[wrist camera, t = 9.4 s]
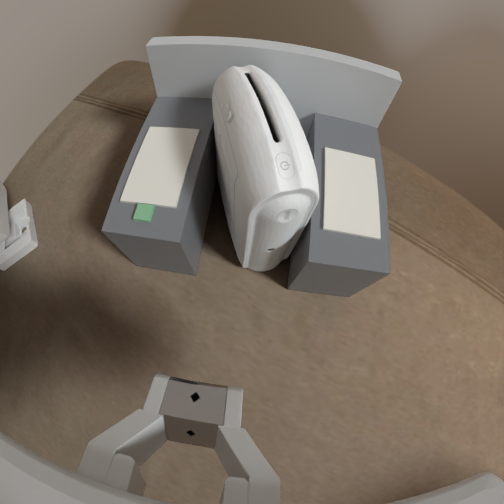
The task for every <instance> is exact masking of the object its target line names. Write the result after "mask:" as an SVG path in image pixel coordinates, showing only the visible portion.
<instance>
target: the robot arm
mask: <svg viewBox="0 0 504 504" xmlns="http://www.w3.org/2000/svg"><path fill="white" fill-rule="evenodd" d="M242 400H243V388H236V387H228V386H224V385H216V384H210V383H203V382H194V381H189V380H185V379H180V378H176V377H171V376H167V375H162V374H158V373H156V375H155V376H154V378H153V381H152V384H151V387H150V389H149V392H148V395H147V398H146V401H145V404H144V406H143V409H142V410H141V409H137V410H136V411H134V412H133V413H132V414H130V415H129V416H127V417H126V418H124V419H123V420H121V421H120V422H118V423H117V424H115V425H114V426H112V427H111V428H109V429H108V430H106V431H105V432H103V433H102V434H100V435H99V436H97V437H95V438H94V439H92V440H91V441H89V443H88V446H87V448H86V450H85V453H84V455H83V458H82V460H81V463H80V466H79V468H78V471H77V473H75V472H73V471H71V470H69V469H66V468H64V467H62V466H60V465H58V464H56V463H54V462H52V461H50V460H48V459H46V458H44V457H42V456H40V455H38V454H37V453H35V452H33V451H31V450H29V449H28V448H26V447H24V446H22V445H21V444H19V443H18V442H16V441H14V440H13V439H11V438H9V437H8V436H6V435H5V434H3V433H2V432H0V504H172V503H168V502H163V501H159V500H155V499H151V498H147V497H143V495H144V491H145V486H146V483H145V481H144V479H143V477H142V475H141V473H140V471H139V469H138V467H139V466H140V465H142V464H143V463H144V462H145V461H146V460H147V459H148V458H149V457H151V456H152V455H153V454H154V453H155V452H156V451H157V450H158V449H159V448H161V447H162V446H163V445H164V444H165V443H166V442H167V440H170V441H175V442H180V443H186V444H192V445H197V446H202V447H208V448H213V449H215V451H216V453H217V455H218V457H219V459H220V461H221V463H222V465H223V466H224V468H225V470H226V472H227V474H228V476H229V478H228V479H226V481H225V484H224V488H223V491H222V495H221V498H220V504H280V478H279V477H278V476H277V474H276V473H275V472H274V470H273V469H272V467H271V466H270V465H269V463H268V462H267V460H266V459H265V458H264V456H263V455H262V453H261V452H260V450H259V449H258V448H257V446H256V445H255V443H254V442H253V440H252V439H251V437H250V436H249V434H248V433H247V431H246V430H245V429H244V428H240V427H241V414H242ZM386 504H504V481H503V480H502V479H500V478H499V477H498V476H496V475H495V474H493V473H491V472H490V471H483V472H480V473H478V474H476V475H473V476H471V477H469V478H466V479H464V480H461V481H459V482H456V483H454V484H451V485H448V486H445V487H443V488H440V489H437V490H434V491H431V492H428V493H424V494H421V495H418V496H414V497H410V498H407V499H403V500H399V501H395V502H390V503H386Z"/></svg>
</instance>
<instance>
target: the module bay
mask: <svg viewBox="0 0 504 504" xmlns="http://www.w3.org/2000/svg"><path fill="white" fill-rule="evenodd" d="M146 49H147V53H148V58H149V63H150V67H151V71H152V76H153V80H154V84H155V88H156V92H157V96H158V97H157V99H156V100H155V102H154V104H153V106H152V108H151V110H150V112H149V114H148V116H147V118H146V120H145V122H144V124H143V126H142V129H141V131H140V133H139V135H138V137H137V139H136V142H135V144H134V146H133V148H132V151H131V153H130V155H129V157H128V160H127V162H126V165H125V167H124V169H123V172H122V174H121V177H120V179H119V182H118V185H117V187H116V190H115V193H114V195H113V198H112V201H111V203H110V206H109V209H108V212H107V215H106V218H105V221H104V224H103V227H102V230H101V231H102V232H103V233H104V234H105V235H106V236H107V237H108V238H109V239H110V240H111V241H112V242H113V243H114V244H115V245H116V246H117V247H118V248H119V249H120V250H121V251H122V252H123V253H124V254H125V255H126V256H127V257H128V258H129V259H130V260H131V261H132V262H133V263H134V264H135V265H136V266H142V267H147V268H153V269H159V270H165V271H170V272H176V273H182V274H188V275H195V276H196V274H197V269H198V264H199V259H200V254H201V249H202V244H203V239H204V235H205V230H206V225H207V221H208V216H209V212H210V207H211V203H212V198H213V194H214V190H215V185H216V181H217V177H218V175H217V160H216V145H215V132H214V119H213V108H212V93H213V88H214V84H215V82H216V80H217V78H218V77H219V76H220V75H221V74H222V73H223V72H224V71H225V70H227V69H228V68H230V67H232V66H236V67H244V66H247V65H253V66H256V67H258V68H260V69H262V70H263V71H264V72H266V73H267V74H268V75H269V76H271V77H272V78H273V79H274V81H275V82H276V83H277V84H278V85H279V87H280V88H281V89H282V91H283V92H284V94H285V95H286V97H287V99H288V100H289V102H290V104H291V106H292V108H293V110H294V111H295V113H296V116H297V118H298V120H299V122H300V124H301V127H302V129H303V131H304V134H305V136H306V139H307V142H308V145H309V147H310V150H311V153H312V156H313V160H314V164H315V167H316V172H317V177H318V184H319V201H318V204H317V206H316V208H315V210H314V211H313V213H312V215H311V217H310V219H309V221H308V223H307V225H306V227H305V228H304V230H303V232H302V234H301V236H300V237H299V239H298V241H297V243H296V245H295V246H294V248H293V250H292V252H291V258H290V268H289V277H288V286H287V289H288V290H296V291H303V292H311V293H319V294H327V295H335V296H343V297H350V296H352V295H353V294H355V293H357V292H359V291H361V290H362V289H364V288H366V287H368V286H369V285H371V284H373V283H375V282H376V281H378V280H380V279H382V278H383V277H385V276H387V275H388V274H390V248H389V226H388V211H387V199H386V189H385V179H384V171H383V163H382V156H381V149H380V142H379V136H378V130H377V127H378V125H379V124H380V122H381V120H382V118H383V116H384V114H385V113H386V111H387V109H388V107H389V105H390V103H391V101H392V100H393V98H394V96H395V94H396V92H397V90H398V88H399V87H400V85H401V83H402V80H401V77H400V74H399V72H397V71H395V70H391V69H389V68H386V67H383V66H380V65H377V64H373V63H370V62H367V61H364V60H360V59H357V58H353V57H349V56H345V55H342V54H337V53H333V52H329V51H324V50H320V49H315V48H310V47H305V46H300V45H294V44H288V43H281V42H274V41H266V40H257V39H247V38H233V37H213V36H176V37H154V38H152V39H151V40H150V41H149V42H148V44H147V45H146Z"/></svg>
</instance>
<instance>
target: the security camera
mask: <svg viewBox="0 0 504 504" xmlns="http://www.w3.org/2000/svg"><path fill="white" fill-rule="evenodd" d="M24 227H26V228H27V229H26V230H25V232H24V233H22V229H23V228H24ZM37 246H38V241H37V236H36V230H35V225H34V219H33V213H32V206H31V204H30V203H29V202H28V201H27V200H25V199H23V200H22V201H20V202H19V203H18V204H16V205H15V206H14V207H12V208H11V209H10V210H9V211H8V205H7V191H6V189H5V187H4V185H3V184H2V183H1V182H0V269H1V270H3V271H5V270H6V269H8V268H9V267H10V266H11V265H13V264H14V263H15V262H17V261H18V260H19V259H21V258H22V257H24V256H25V255H26V254H28V253H29V252H30V251H32V250H33V249H35V248H36V247H37Z"/></svg>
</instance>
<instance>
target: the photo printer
mask: <svg viewBox="0 0 504 504" xmlns="http://www.w3.org/2000/svg"><path fill="white" fill-rule="evenodd" d="M212 108H213V119H214V132H215V145H216V160H217V175H218V182H219V187H220V192H221V196H222V201H223V205H224V210H225V214H226V218H227V222H228V226H229V230H230V234H231V237H232V241H233V244H234V248H235V251H236V254H237V257H238V259H239V261H240V263H241V265H242V267H243V268H249V269H251V270H254V271H267V270H271V269H273V268H275V267H276V266H277V265H278V264H279V263H280V262H281V261H282V260H283V259H287V258H288V256H289V255H290V253H291V252H292V250H293V248H294V246H295V245H296V243H297V241H298V239H299V237H300V236H301V234H302V232H303V230H304V228H305V227H306V225H307V223H308V221H309V219H310V217H311V215H312V213H313V211H314V210H315V208H316V206H317V204H318V201H319V184H318V177H317V172H316V167H315V164H314V160H313V156H312V153H311V150H310V147H309V145H308V142H307V139H306V136H305V134H304V131H303V129H302V127H301V124H300V122H299V120H298V118H297V116H296V113H295V111H294V110H293V108H292V106H291V104H290V102H289V100H288V99H287V97H286V95H285V94H284V92H283V91H282V89H281V88H280V87H279V85H278V84H277V83H276V82H275V81H274V79H273V78H272V77H271V76H269V75H268V74H267V73H266V72H264V71H263V70H262V69H260V68H258V67H256V66H253V65H247V66H244V67H236V66H232V67H230V68H228V69H227V70H225V71H224V72H223V73H222V74H221V75H220V76H219V77H218V78H217V80H216V82H215V84H214V88H213V93H212Z"/></svg>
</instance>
